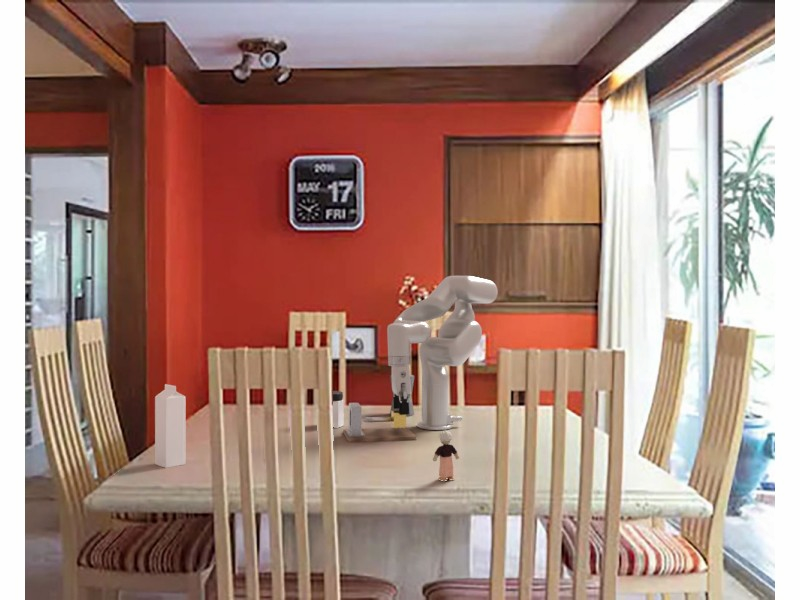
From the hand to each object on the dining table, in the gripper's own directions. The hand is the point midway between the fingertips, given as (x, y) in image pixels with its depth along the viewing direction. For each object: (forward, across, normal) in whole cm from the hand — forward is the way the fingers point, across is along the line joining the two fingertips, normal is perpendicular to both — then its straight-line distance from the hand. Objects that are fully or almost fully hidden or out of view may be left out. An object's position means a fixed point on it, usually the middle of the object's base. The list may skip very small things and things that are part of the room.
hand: (401, 411), depth 243 cm
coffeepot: (+10, +36, -7) cm, 38 cm away
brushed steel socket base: (+7, -1, +16) cm, 18 cm away
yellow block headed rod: (+4, -1, +6) cm, 8 cm away
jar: (+8, +18, +22) cm, 29 cm away
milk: (+4, -29, +71) cm, 77 cm away
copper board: (+7, -1, +8) cm, 11 cm away
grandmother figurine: (+6, -57, 0) cm, 57 cm away
